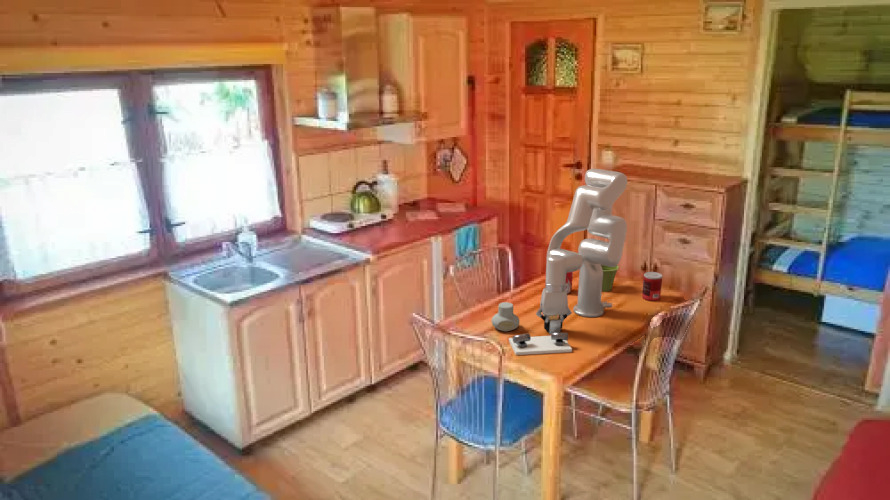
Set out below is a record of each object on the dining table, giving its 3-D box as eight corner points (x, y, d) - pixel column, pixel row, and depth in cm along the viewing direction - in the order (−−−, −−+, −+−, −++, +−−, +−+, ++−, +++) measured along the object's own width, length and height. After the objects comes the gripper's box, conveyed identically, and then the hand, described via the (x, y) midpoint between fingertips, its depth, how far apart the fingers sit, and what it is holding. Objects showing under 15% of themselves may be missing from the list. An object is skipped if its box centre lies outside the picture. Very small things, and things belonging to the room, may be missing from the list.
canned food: (662, 297, 297) (664, 273, 294) (657, 303, 291) (659, 279, 287) (644, 293, 301) (647, 270, 298) (639, 299, 295) (641, 275, 291)
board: (562, 337, 258) (562, 335, 257) (571, 352, 246) (571, 349, 246) (508, 340, 255) (508, 337, 255) (515, 355, 244) (515, 352, 244)
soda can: (572, 294, 300) (574, 269, 296) (556, 294, 300) (558, 269, 296) (570, 289, 306) (571, 264, 303) (554, 289, 307) (556, 264, 303)
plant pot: (585, 289, 307) (586, 265, 303) (600, 282, 314) (602, 259, 311) (607, 296, 298) (608, 272, 295) (622, 289, 306) (624, 266, 302)
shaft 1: (526, 341, 252) (526, 331, 251) (531, 346, 248) (531, 336, 247) (511, 343, 250) (511, 333, 249) (516, 348, 246) (516, 338, 245)
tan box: (545, 328, 266) (546, 315, 264) (556, 327, 266) (557, 314, 265) (549, 334, 261) (550, 320, 259) (560, 333, 261) (561, 320, 259)
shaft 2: (566, 340, 253) (567, 330, 251) (567, 346, 248) (568, 335, 247) (550, 340, 253) (551, 330, 252) (551, 345, 249) (551, 335, 248)
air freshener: (517, 323, 270) (518, 300, 267) (520, 332, 263) (521, 308, 259) (490, 324, 270) (491, 300, 267) (492, 332, 262) (493, 309, 259)
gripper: (573, 282, 262) (570, 325, 268) (531, 284, 260) (529, 327, 266) (579, 289, 255) (576, 333, 261) (536, 291, 253) (534, 335, 259)
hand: (552, 329), depth 263 cm, fingers closed on tan box, 4 cm apart
